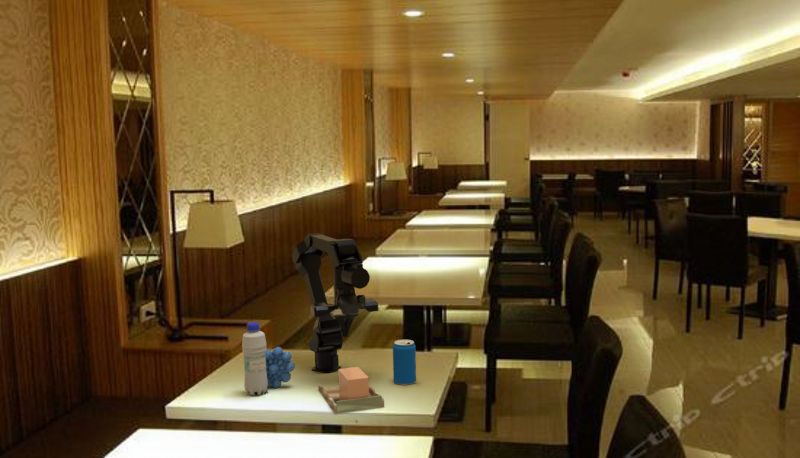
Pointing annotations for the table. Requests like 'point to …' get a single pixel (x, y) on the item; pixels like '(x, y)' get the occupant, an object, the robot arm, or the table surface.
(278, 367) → the grapes
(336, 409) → the box
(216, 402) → the table surface
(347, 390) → the brick
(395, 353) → the beverage can
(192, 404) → the table surface
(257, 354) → the bottle
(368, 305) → the robot arm
